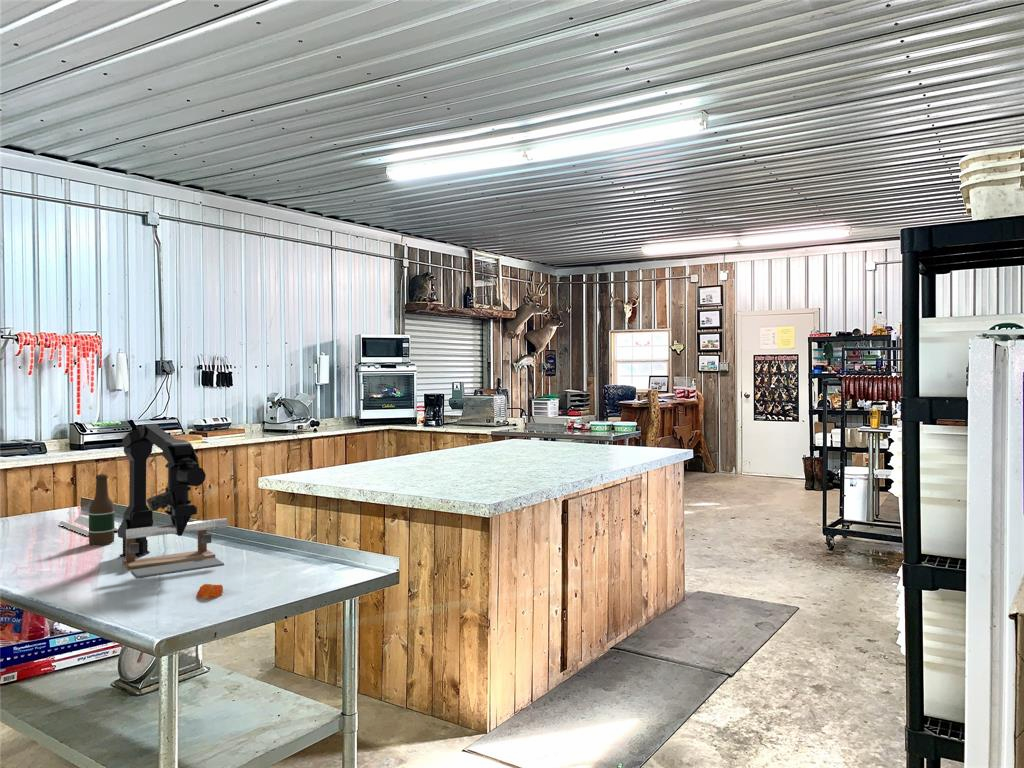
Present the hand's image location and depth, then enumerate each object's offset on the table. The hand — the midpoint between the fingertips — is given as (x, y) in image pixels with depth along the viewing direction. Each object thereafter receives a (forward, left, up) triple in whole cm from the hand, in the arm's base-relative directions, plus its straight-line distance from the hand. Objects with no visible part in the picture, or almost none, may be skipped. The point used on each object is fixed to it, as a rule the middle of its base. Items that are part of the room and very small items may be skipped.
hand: (178, 534), depth 216 cm
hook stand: (-8, +8, -10) cm, 15 cm away
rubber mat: (0, 0, -10) cm, 10 cm away
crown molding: (-68, +50, -11) cm, 85 cm away
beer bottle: (-46, +28, -10) cm, 54 cm away
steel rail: (0, 0, +1) cm, 1 cm away
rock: (+24, -25, -11) cm, 36 cm away
